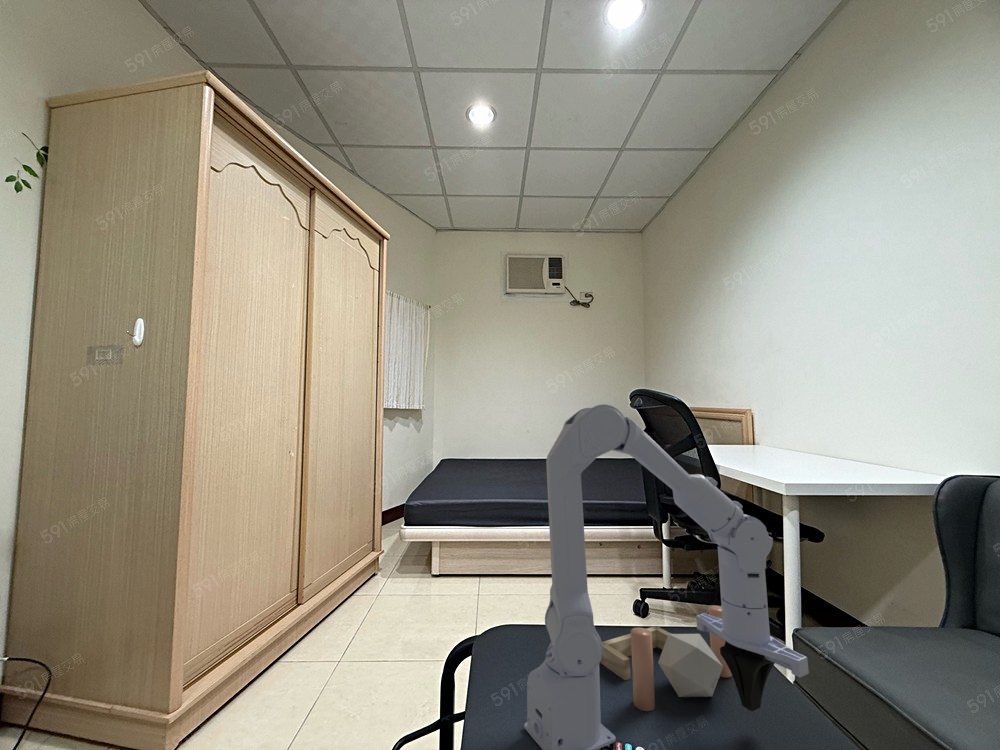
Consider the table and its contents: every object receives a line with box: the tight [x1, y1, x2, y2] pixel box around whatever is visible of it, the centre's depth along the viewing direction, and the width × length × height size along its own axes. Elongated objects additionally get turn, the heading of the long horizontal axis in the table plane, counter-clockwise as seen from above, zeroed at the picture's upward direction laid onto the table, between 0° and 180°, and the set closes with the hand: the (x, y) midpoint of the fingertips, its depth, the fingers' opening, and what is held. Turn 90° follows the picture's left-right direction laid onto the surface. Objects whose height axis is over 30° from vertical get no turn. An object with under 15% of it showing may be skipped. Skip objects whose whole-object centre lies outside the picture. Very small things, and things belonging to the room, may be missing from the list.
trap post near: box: [630, 627, 656, 712], centre depth 63 cm, size 3×3×10 cm
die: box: [657, 633, 723, 698], centre depth 66 cm, size 8×9×10 cm
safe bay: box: [599, 625, 672, 681], centre depth 74 cm, size 14×6×3 cm, turn 118°
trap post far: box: [707, 604, 733, 679], centre depth 71 cm, size 3×3×10 cm
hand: (751, 706), depth 57 cm, fingers closed
